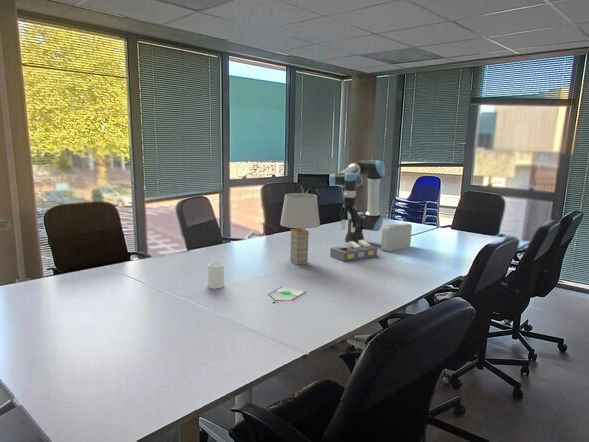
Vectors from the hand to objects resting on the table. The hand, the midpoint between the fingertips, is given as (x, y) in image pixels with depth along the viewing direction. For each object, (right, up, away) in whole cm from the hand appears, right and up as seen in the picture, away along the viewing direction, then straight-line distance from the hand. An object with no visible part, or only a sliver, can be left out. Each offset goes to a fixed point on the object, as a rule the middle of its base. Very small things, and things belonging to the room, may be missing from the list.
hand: (348, 230), depth 273 cm
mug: (-76, -28, -54) cm, 97 cm away
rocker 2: (+6, -10, +9) cm, 15 cm away
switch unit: (+5, -18, +11) cm, 22 cm away
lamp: (-33, -21, -7) cm, 39 cm away
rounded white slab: (+41, -15, +36) cm, 56 cm away
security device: (-41, -32, -68) cm, 85 cm away
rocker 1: (-2, -11, +5) cm, 12 cm away
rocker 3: (+13, -9, +14) cm, 22 cm away
